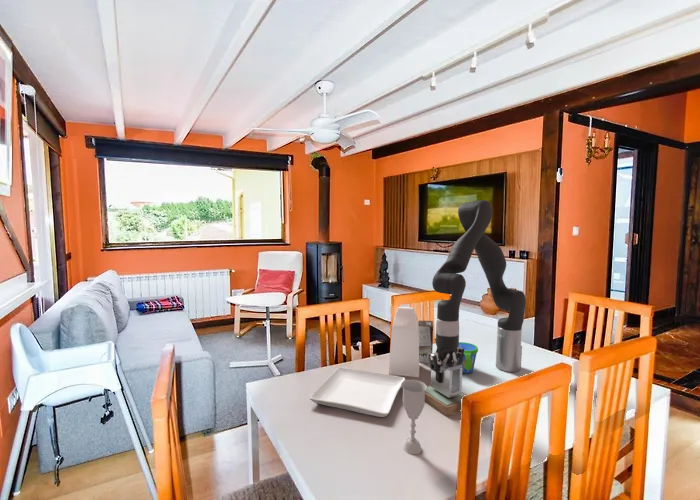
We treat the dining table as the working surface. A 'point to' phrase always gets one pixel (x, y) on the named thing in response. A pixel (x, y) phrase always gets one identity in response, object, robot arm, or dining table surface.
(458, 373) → the housing
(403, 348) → the milk
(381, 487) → the dining table surface
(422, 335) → the coffee box
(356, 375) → the square plate
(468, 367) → the snack cup
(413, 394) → the chalice
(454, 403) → the wooden tray
